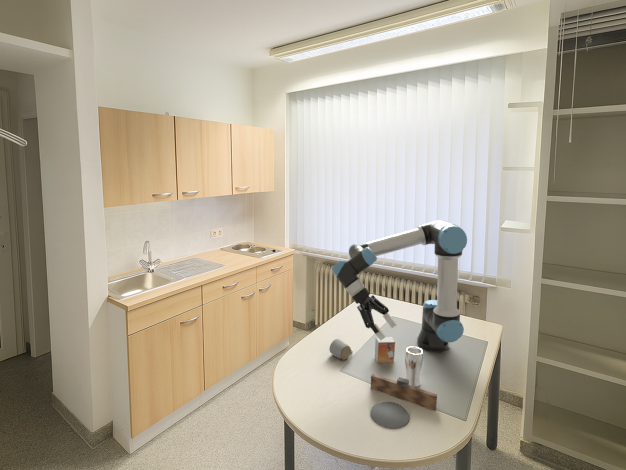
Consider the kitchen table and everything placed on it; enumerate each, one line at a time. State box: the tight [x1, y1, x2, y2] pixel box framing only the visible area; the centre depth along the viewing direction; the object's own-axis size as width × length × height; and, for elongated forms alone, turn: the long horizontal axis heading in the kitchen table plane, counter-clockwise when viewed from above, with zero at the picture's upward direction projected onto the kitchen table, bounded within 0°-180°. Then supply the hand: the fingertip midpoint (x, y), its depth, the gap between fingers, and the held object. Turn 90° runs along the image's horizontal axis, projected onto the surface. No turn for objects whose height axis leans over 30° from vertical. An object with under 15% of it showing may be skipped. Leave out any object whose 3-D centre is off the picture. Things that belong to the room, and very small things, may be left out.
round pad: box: [370, 400, 410, 429], centre depth 138 cm, size 14×14×1 cm
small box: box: [374, 336, 396, 364], centre depth 174 cm, size 8×6×10 cm
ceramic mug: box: [329, 338, 353, 361], centre depth 178 cm, size 11×8×8 cm
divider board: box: [370, 373, 438, 412], centre depth 147 cm, size 26×2×8 cm, turn 59°
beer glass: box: [404, 346, 424, 388], centre depth 156 cm, size 7×7×15 cm
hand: (389, 332), depth 159 cm, fingers open, 13 cm apart
